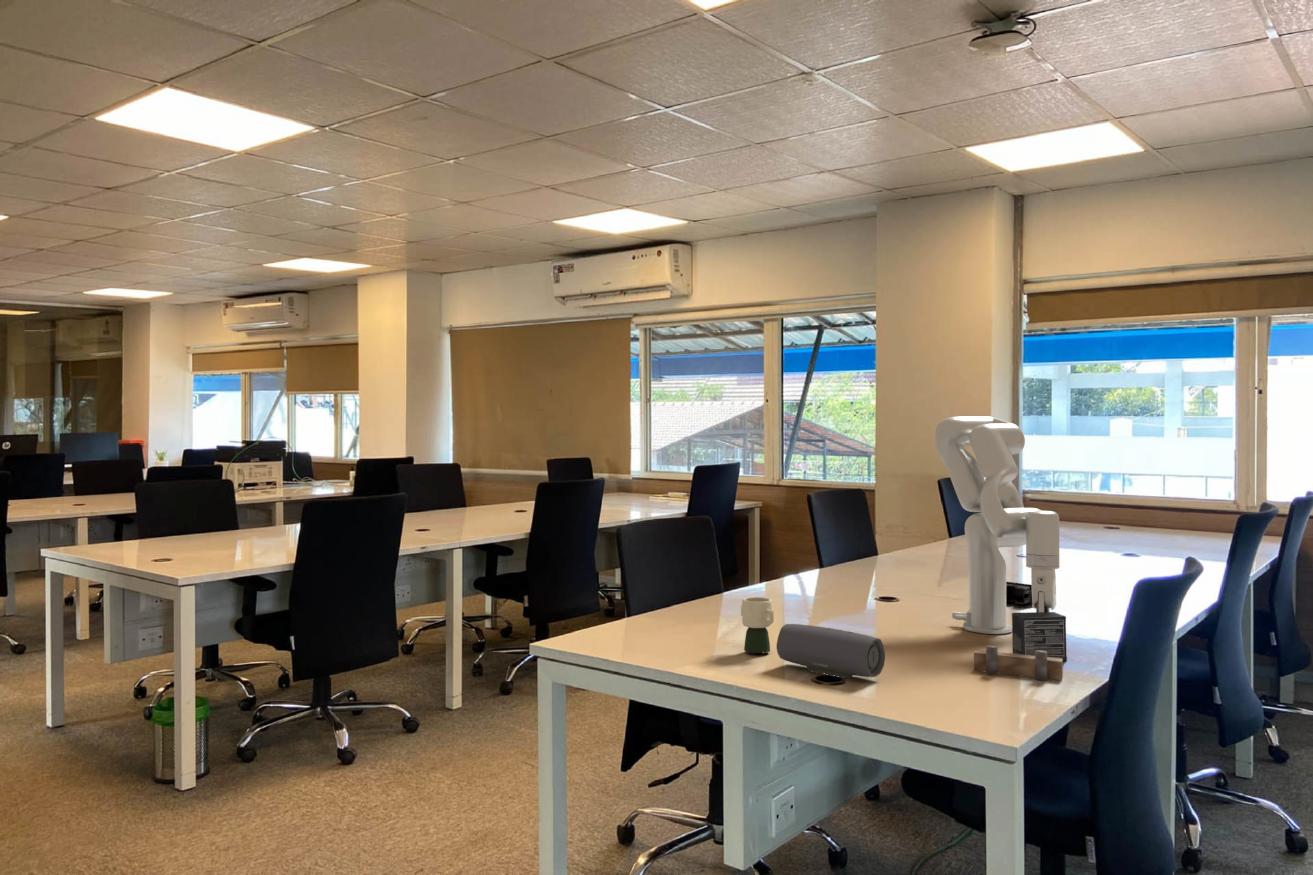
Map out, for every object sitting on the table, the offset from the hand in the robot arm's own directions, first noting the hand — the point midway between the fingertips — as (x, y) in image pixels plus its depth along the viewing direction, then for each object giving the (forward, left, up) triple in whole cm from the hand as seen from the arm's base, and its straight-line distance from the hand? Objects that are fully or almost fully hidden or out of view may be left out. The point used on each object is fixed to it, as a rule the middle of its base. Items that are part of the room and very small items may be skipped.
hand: (1043, 635), depth 222 cm
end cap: (-12, +58, -4) cm, 59 cm away
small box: (0, -10, -3) cm, 11 cm away
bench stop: (-3, -28, -3) cm, 29 cm away
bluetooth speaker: (-40, -45, -4) cm, 61 cm away
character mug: (-61, -35, -3) cm, 71 cm away
